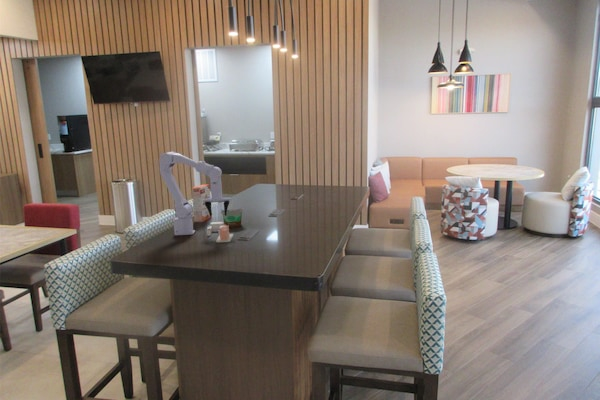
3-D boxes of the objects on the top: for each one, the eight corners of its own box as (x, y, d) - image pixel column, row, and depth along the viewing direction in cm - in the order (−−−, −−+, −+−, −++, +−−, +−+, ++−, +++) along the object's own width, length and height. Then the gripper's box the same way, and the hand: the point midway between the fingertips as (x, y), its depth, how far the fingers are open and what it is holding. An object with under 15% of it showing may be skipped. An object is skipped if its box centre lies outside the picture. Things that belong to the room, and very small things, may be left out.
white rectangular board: (216, 242, 210) (215, 241, 210) (219, 235, 223) (219, 234, 223) (230, 241, 210) (230, 240, 210) (233, 234, 223) (233, 233, 223)
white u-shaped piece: (207, 235, 223) (207, 228, 222) (211, 229, 236) (211, 222, 235) (221, 235, 223) (220, 227, 222) (224, 228, 236) (224, 221, 235)
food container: (222, 229, 235) (221, 211, 234) (221, 226, 241) (220, 209, 239) (245, 226, 239) (244, 209, 237) (243, 224, 244) (242, 207, 243)
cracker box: (203, 222, 253) (200, 187, 249) (193, 222, 254) (190, 187, 250) (212, 217, 266) (210, 184, 262) (203, 217, 267) (201, 184, 264)
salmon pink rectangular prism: (220, 240, 211) (219, 230, 210) (223, 235, 221) (222, 225, 220) (226, 240, 211) (226, 230, 210) (229, 234, 221) (228, 225, 220)
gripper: (201, 192, 220) (203, 217, 222) (229, 190, 220) (231, 216, 223) (203, 189, 227) (205, 214, 229) (231, 188, 227) (232, 213, 229)
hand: (218, 215), depth 226 cm, fingers open, 7 cm apart
